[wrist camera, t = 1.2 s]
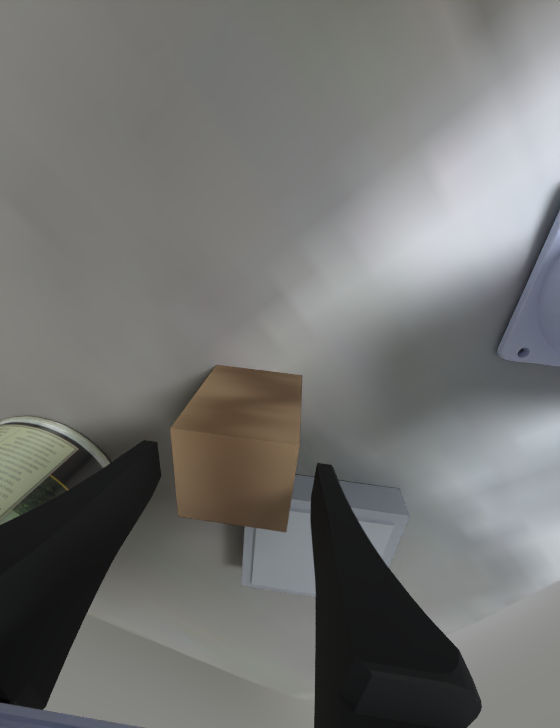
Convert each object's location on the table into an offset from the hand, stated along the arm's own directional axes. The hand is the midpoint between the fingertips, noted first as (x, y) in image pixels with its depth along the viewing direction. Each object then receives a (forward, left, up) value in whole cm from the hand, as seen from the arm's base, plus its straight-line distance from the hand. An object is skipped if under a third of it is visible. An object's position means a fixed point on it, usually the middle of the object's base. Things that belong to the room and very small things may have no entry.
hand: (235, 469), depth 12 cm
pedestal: (-5, +10, -5) cm, 12 cm away
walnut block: (0, 0, -5) cm, 5 cm away
